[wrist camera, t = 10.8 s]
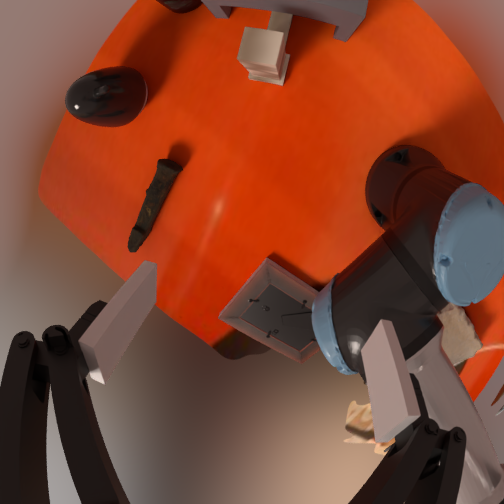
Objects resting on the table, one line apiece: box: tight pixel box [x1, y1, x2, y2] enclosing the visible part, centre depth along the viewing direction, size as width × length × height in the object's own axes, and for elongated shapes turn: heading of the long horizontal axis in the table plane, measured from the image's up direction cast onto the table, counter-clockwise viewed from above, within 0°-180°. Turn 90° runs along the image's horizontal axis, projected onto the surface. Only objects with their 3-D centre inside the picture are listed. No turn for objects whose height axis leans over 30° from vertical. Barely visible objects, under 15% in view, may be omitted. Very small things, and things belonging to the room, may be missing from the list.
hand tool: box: [128, 159, 183, 252], centre depth 45 cm, size 19×4×5 cm, turn 146°
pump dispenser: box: [65, 66, 148, 127], centre depth 31 cm, size 10×10×15 cm
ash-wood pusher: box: [237, 11, 293, 86], centre depth 25 cm, size 8×20×14 cm, turn 168°
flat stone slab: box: [437, 302, 483, 364], centre depth 50 cm, size 24×8×20 cm
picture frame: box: [218, 257, 321, 363], centre depth 53 cm, size 16×2×22 cm
